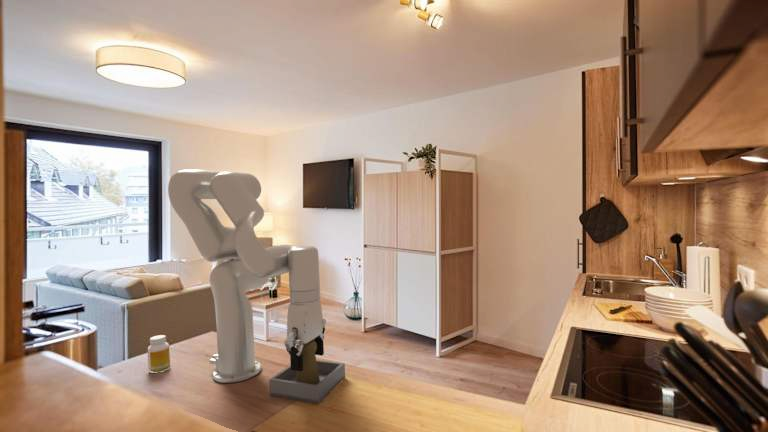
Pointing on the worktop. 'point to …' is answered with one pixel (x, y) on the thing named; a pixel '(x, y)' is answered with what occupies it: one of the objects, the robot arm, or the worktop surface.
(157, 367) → the supplement bottle
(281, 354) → the worktop surface
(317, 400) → the box
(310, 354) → the cork
